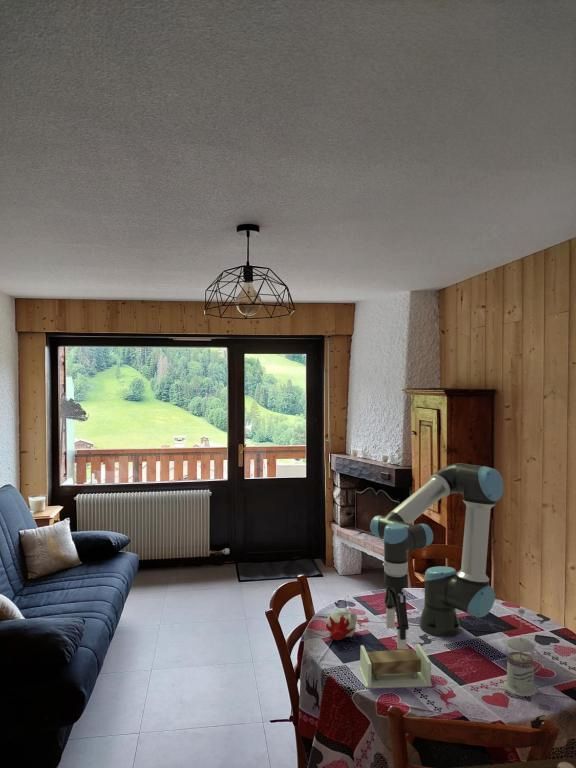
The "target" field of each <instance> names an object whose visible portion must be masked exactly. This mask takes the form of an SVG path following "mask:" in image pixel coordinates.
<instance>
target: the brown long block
mask: <svg viewBox="0 0 576 768" xmlns="http://www.w3.org/2000/svg"><path fill="white" fill-rule="evenodd" d="M366 652H367V655H368V657H369V659H370V662H371V664H372V666H371V673H372V675H373V676H374V675H387V674H401V673H414V672H421V659H420V658H419V656H418V655H417V654H416V651H415V650H414V649H413V648H408V649H407V648H406V649H394V650H393V649H390V650H379V651H377V650H375V651H374V650H373V651H366Z"/></svg>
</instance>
